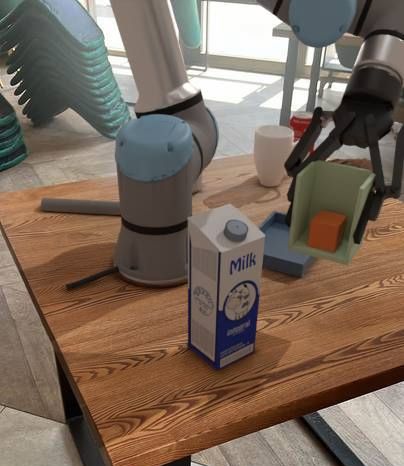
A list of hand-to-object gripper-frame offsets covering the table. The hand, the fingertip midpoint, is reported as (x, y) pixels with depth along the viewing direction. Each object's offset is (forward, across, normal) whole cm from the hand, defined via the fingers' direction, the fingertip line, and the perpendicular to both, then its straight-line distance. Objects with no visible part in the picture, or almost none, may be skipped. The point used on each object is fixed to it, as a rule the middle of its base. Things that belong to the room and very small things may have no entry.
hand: (321, 232), depth 79 cm
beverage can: (-31, +24, -52) cm, 65 cm away
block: (0, 0, -4) cm, 4 cm away
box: (0, 0, -5) cm, 5 cm away
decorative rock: (-20, +8, -41) cm, 46 cm away
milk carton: (+20, +8, -1) cm, 21 cm away
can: (-13, +41, -34) cm, 55 cm away
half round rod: (0, +52, -21) cm, 56 cm away
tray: (-3, +11, -24) cm, 27 cm away
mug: (-23, +24, -43) cm, 54 cm away
